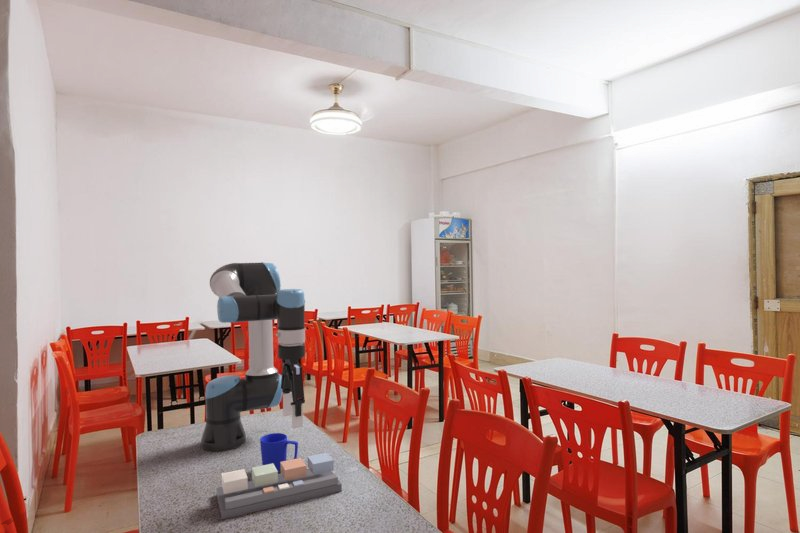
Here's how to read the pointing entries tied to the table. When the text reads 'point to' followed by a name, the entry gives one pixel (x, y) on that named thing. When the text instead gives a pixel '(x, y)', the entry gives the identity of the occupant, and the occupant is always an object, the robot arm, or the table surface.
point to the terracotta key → (293, 469)
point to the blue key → (320, 463)
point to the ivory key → (234, 481)
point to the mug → (275, 449)
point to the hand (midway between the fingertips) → (292, 421)
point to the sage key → (264, 475)
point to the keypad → (276, 493)
